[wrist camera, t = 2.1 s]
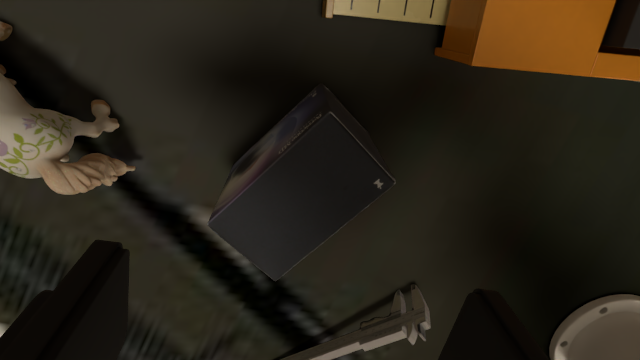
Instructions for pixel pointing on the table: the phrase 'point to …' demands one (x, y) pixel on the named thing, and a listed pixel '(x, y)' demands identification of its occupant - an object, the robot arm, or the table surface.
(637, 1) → the button
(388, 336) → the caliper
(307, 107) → the small box
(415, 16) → the tape blade
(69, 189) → the unicorn figurine
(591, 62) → the tape case
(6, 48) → the table surface
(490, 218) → the table surface
